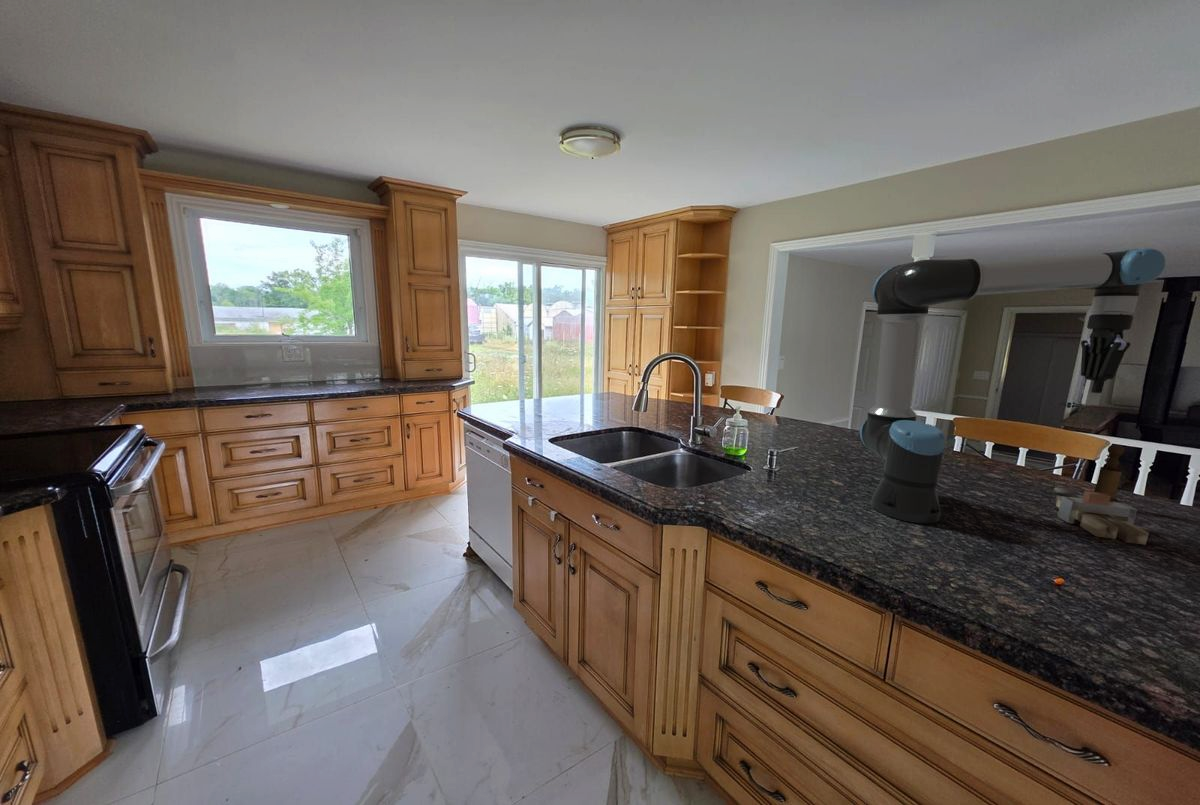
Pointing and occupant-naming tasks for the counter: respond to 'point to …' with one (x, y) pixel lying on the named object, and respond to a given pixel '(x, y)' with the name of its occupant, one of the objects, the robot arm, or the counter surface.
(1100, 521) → the tongs hinged arm
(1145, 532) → the tongs fixed arm
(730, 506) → the counter surface
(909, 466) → the robot arm
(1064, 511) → the lock collar
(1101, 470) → the brown wooden post
